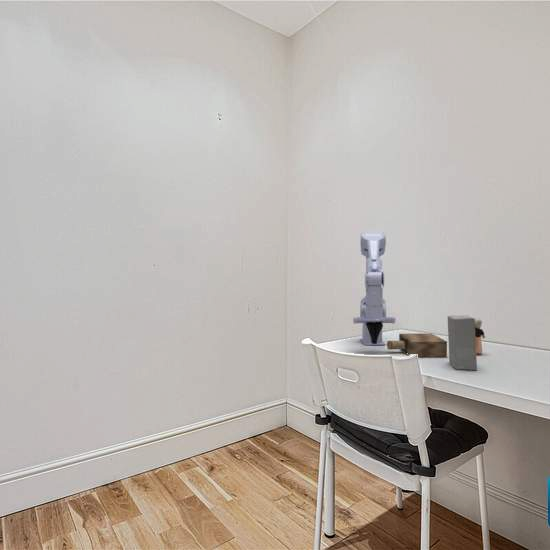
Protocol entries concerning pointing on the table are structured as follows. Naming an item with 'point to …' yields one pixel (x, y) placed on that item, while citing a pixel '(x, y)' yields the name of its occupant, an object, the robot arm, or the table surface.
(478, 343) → the grandmother figurine
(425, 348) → the block
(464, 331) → the skincare box
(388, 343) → the peg
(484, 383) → the table surface
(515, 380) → the table surface
